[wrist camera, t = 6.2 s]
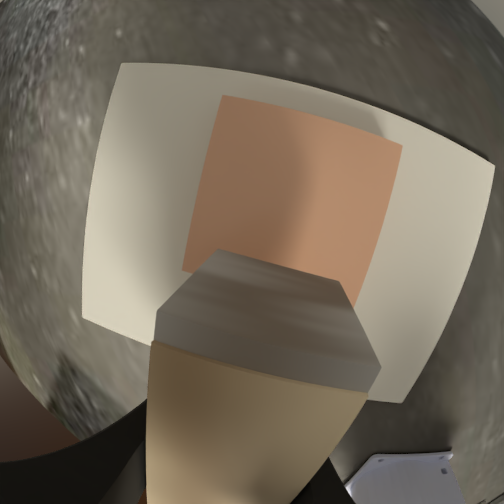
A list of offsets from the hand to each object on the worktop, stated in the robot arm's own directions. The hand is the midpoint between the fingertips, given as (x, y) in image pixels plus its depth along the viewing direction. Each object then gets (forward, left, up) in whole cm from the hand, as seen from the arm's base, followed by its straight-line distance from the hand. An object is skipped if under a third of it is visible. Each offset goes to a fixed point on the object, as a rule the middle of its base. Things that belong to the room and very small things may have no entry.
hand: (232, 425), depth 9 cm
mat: (0, -5, -7) cm, 9 cm away
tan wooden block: (0, 0, -2) cm, 2 cm away
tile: (0, -7, -6) cm, 9 cm away
